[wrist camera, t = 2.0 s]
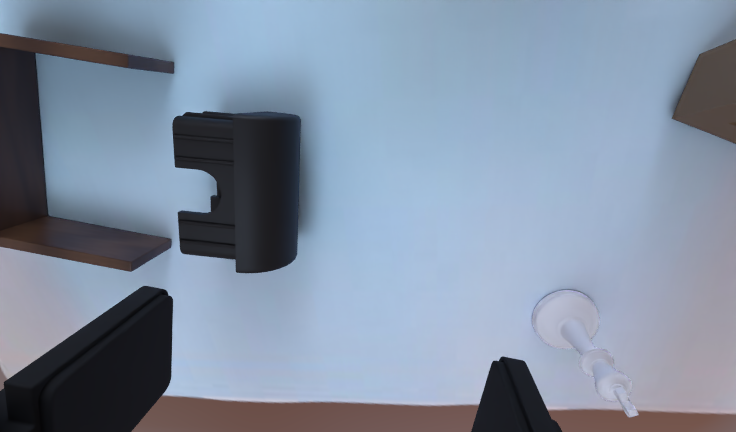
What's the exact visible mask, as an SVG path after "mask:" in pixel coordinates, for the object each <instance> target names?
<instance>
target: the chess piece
mask: <svg viewBox="0 0 736 432" xmlns="http://www.w3.org/2000/svg"><path fill="white" fill-rule="evenodd" d="M532 324H533V328H534V330H535V332H536V334H537V335H538V336H539V337H540V338H541V339H542V340H543V341H544V342H545V343H546V344H548V345H550V346H552V347H554V348H558V349H573V348H575V349H576V350H577V351H578V352H579V353H580V354H581V357H580V359H579V367H580V369H581V370H582V371H583V372H584V373H585V374H586V375H588V376H591V377H594V379H595V387H596V391H597V393H598V395H599V396H600V397H601V398H603V399H604V400H607V401H611V402H616V401H619V402H620V403H621V405H622V407H623V410H624V412H625V413H626V414H627V416H628V417H633V416H636V415H638V413H637V410H636V408H635V407H634V406H633V404H632V403H631V402H630V400H629V398H628V396H629V394H630V393H631V391H632V382H631V380H630V379H629V377H628V376H626V375H625V374H624V373H622V372H620V371H618V370H616V369H615V368H613V367H614V360H613V357H612V355H611V353H610V352H609V351H607V350H605V349H602V348H596V347H595V346H594V344H593V342H592V340H591V339H592V338H593V337H594V335H595V334H596V332H597V330H598V328H599V324H600V316H599V312H598V310H597V308H596V306H595V304H594V303H593V301H592V300H591V299H590V298H589V297H588V296H586V295H584V294H583V293H580V292H577V291H573V290H562V291H557V292H554V293H551V294H549V295H547V296H546V297H544V298H543V299H542V300H541V301H540V302H539V303H538V304H537V306H536V307H535V309H534V312H533V315H532Z"/></svg>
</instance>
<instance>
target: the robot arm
mask: <svg viewBox="0 0 736 432" xmlns="http://www.w3.org/2000/svg"><path fill="white" fill-rule="evenodd" d="M172 319H173V299H172V297H171V296H168V292H167V291H166V290H164V289H159V288H154V287H149V286H143V287H141V288H139V289H138V290H136V291H135V292H134V293H132V294H131V295H129V296H128V297H126V298H125V299H123V300H122V301H121V302H119V303H118V304H116V305H115V306H113V307H112V308H110V309H109V310H108V311H106V312H105V313H103V314H102V315H100V316H99V317H97V318H96V319H95V320H93V321H92V322H90V323H89V324H87V325H86V326H84V327H83V328H82V329H80V330H79V331H77V332H76V333H74V334H73V335H71V336H70V337H69V338H67V339H66V340H64V341H63V342H61V343H60V344H58V345H57V346H56V347H54V348H53V349H51V350H50V351H48V352H47V353H45V354H44V355H43V356H41V357H40V358H38V359H37V360H35V361H34V362H32V363H31V364H30V365H28V366H27V367H25V368H24V369H22V370H21V371H19V372H18V373H17V374H15V375H14V376H12V377H11V378H9V379H8V380H6V381H5V382H4V389H2V390H1V391H0V432H131V431H132V430H133V429H134V428H135V427H136V425H137V424H138V423H139V422H140V420H141V419H142V418H143V417H144V416H145V415H146V413H147V412H148V411H149V410H150V409H151V407H152V406H153V405H154V404H155V403H156V402H157V400H158V399H159V398H160V397H161V396H162V394H163V393H164V392H165V391H166V389H167V387H168V386H169V383H170V380H171V361H172ZM471 432H562V430H561V428H560V427H559V425H558V423H557V422H556V421H554V420H552V419H551V417H550V415H549V413H548V410H547V408H546V406H545V404H544V402H543V400H542V397H541V395H540V393H539V391H538V389H537V386H536V384H535V382H534V380H533V378H532V376H531V373H530V371H529V369H528V367H527V365H526V363H525V361H523V360H517V359H512V358H507V357H501V358H500V360H499V361H493V362H492V364H491V368H490V371H489V374H488V378H487V381H486V384H485V388H484V391H483V394H482V398H481V401H480V404H479V408H478V411H477V414H476V418H475V421H474V424H473V428H472V431H471Z"/></svg>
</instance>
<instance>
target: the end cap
mask: <svg viewBox="0 0 736 432" xmlns="http://www.w3.org/2000/svg"><path fill="white" fill-rule="evenodd" d="M300 128H301V119H300V117H299V116H297V115H293V114H286V113H277V112H253V113H238V114H231V113H219V112H207V111H205V112H203V113H192V112H186V113H185V114H184V115H183V116H177V117H175V118H174V120H173V143H174V159H175V167H177V168H187V169H198V170H202V171H205V172H207V173H209V174H210V175H211V176H213V177H214V178H215V180H216V181H217V196H215V195H213V196H211V212H209V213H201V212H191V211H180V212H178V223H179V239H180V250H181V253H183V254H189V255H198V256H208V257H217V258H226V259H235V260H236V272H237V273H261V272H268V271H273V270H276V269H280V268H282V267H285V266H287V265H288V264H290V263H291V262H293V261H294V260H295V258H296V256H297V239H298V202H299V165H300Z"/></svg>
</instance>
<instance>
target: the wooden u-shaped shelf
mask: <svg viewBox="0 0 736 432" xmlns="http://www.w3.org/2000/svg"><path fill="white" fill-rule="evenodd" d="M35 53H40V54H46V55H52V56H58V57H64V58H70V59H76V60H82V61H88V62H94V63H100V64H106V65H112V66H118V67H124V68H131V69H139V70H147V71H155V72H163V73H171V74H173V73H174V63H173V62H169V61H163V60H158V59H152V58H146V57H140V56H135V55H129V54H123V53H117V52H111V51H105V50H99V49H93V48H87V47H81V46H74V45H68V44H62V43H56V42H50V41H44V40H38V39H32V38H26V37H20V36H14V35H8V34H2V33H0V247H5V248H10V249H15V250H21V251H26V252H31V253H36V254H41V255H47V256H52V257H57V258H62V259H67V260H73V261H78V262H83V263H88V264H94V265H99V266H104V267H109V268H114V269H120V270H125V271H130V272H131V271H133V270H135V269H137V268H138V267H140V266H141V265H143V264H145V263H146V262H148V261H150V260H151V259H153V258H155V257H156V256H158V255H159V254H161V253H163V252H164V251H166V250H168V249H169V248H171V239H168V238H163V237H157V236H152V235H147V234H141V233H136V232H131V231H125V230H120V229H115V228H109V227H104V226H99V225H93V224H88V223H82V222H77V221H72V220H66V219H61V218H56V217H50V216H48V213H47V201H46V188H45V176H44V163H43V151H42V138H41V126H40V113H39V101H38V88H37V76H36V63H35Z"/></svg>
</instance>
